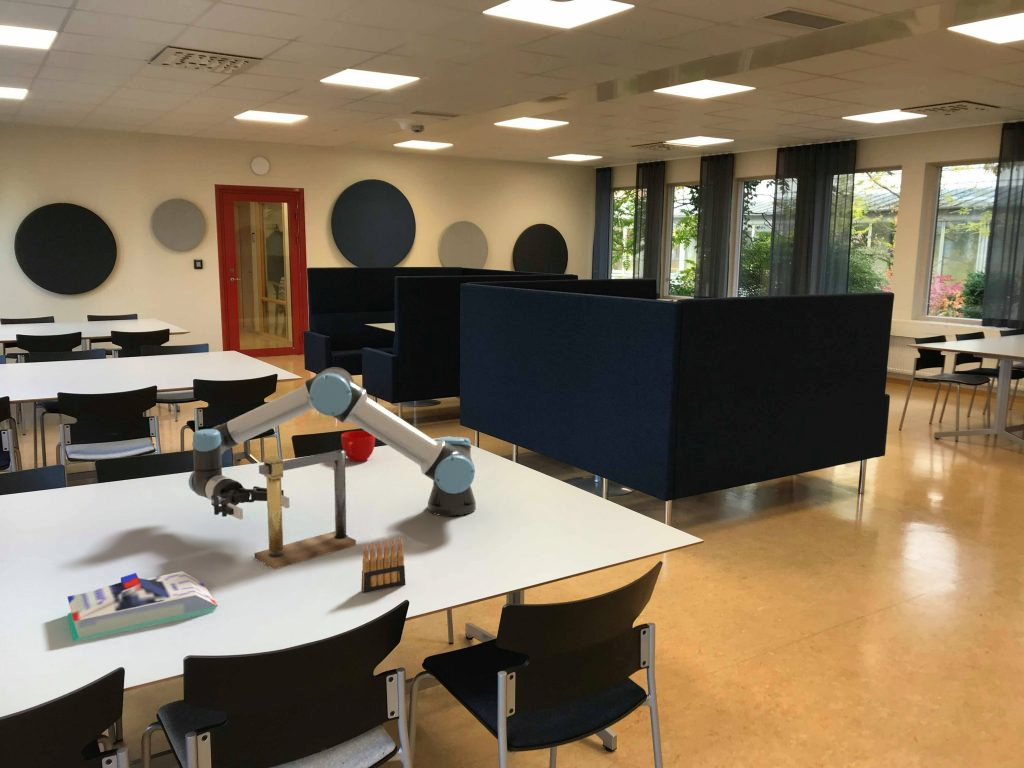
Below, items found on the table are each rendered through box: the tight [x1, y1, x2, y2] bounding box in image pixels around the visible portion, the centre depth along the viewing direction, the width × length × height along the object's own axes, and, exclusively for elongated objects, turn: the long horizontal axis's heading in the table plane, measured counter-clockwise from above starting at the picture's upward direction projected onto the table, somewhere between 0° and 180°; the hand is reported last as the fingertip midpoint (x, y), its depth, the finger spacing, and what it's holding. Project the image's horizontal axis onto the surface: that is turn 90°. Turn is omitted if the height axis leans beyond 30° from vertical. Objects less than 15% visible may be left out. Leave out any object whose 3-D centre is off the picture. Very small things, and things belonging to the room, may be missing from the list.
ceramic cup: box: [340, 430, 376, 462], centre depth 315 cm, size 13×17×10 cm
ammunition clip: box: [360, 536, 406, 594], centre depth 197 cm, size 11×2×12 cm, turn 120°
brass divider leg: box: [263, 455, 284, 553], centre depth 212 cm, size 4×4×25 cm
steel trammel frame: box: [258, 449, 347, 538], centre depth 218 cm, size 25×3×24 cm, turn 136°
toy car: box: [67, 570, 219, 643], centre depth 182 cm, size 17×30×9 cm, turn 123°
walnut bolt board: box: [253, 530, 357, 570], centre depth 221 cm, size 25×10×2 cm, turn 136°
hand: (265, 508), depth 215 cm, fingers open, 13 cm apart
